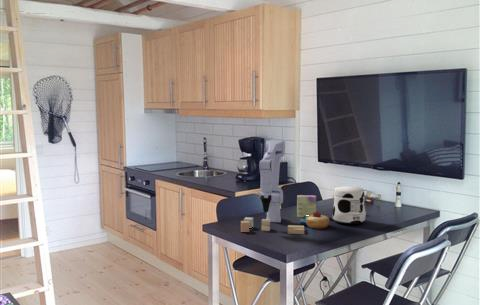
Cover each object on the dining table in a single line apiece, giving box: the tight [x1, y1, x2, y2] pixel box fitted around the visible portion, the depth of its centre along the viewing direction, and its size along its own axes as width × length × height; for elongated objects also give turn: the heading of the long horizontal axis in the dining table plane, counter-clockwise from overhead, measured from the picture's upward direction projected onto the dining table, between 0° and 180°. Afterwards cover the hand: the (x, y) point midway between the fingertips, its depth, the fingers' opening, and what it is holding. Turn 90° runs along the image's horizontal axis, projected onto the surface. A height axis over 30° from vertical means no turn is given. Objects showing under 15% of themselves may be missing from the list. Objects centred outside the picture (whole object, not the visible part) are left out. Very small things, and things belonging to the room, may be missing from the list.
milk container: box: [331, 185, 367, 225], centre depth 234 cm, size 17×17×18 cm
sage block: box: [243, 216, 254, 229], centre depth 225 cm, size 4×4×5 cm
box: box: [296, 194, 317, 218], centre depth 248 cm, size 10×6×12 cm, turn 84°
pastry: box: [305, 209, 330, 230], centre depth 227 cm, size 12×12×9 cm
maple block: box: [261, 218, 271, 232], centre depth 221 cm, size 4×4×5 cm
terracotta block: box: [240, 220, 250, 233], centre depth 218 cm, size 4×4×5 cm
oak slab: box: [287, 224, 305, 235], centre depth 218 cm, size 8×8×2 cm
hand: (265, 210), depth 220 cm, fingers open, 7 cm apart
